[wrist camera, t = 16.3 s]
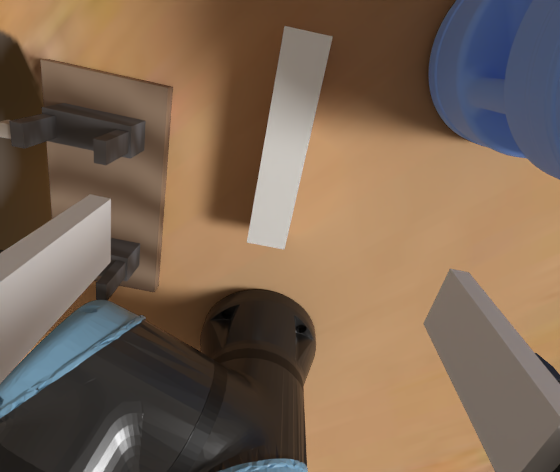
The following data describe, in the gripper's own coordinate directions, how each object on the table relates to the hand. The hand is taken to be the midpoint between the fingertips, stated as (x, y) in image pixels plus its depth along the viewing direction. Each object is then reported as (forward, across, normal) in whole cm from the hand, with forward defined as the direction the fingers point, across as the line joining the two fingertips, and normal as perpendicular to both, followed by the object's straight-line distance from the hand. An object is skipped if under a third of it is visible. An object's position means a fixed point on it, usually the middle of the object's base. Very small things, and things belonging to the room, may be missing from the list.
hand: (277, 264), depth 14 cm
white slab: (+27, 0, +1) cm, 27 cm away
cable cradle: (+26, +18, +10) cm, 33 cm away
